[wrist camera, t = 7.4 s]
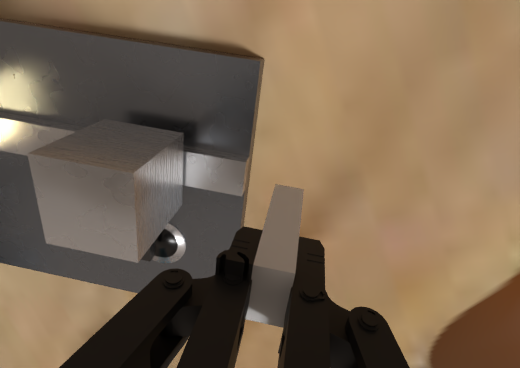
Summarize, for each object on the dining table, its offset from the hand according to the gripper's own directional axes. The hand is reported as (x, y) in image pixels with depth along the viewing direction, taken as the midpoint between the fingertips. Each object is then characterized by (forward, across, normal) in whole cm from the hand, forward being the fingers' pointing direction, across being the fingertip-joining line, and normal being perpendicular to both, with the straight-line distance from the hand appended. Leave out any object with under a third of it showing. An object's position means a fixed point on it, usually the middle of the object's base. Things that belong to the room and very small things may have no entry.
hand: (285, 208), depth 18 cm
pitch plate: (+5, +18, +3) cm, 19 cm away
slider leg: (+3, +9, +3) cm, 10 cm away
